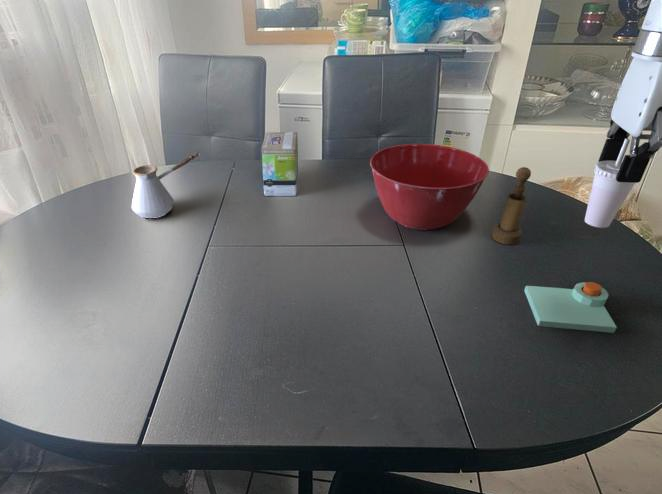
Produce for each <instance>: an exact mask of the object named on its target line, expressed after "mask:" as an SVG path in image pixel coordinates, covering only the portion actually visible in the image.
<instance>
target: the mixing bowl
mask: <svg viewBox="0 0 662 494" xmlns="http://www.w3.org/2000/svg"><path fill="white" fill-rule="evenodd" d="M369 165H370V168H371V171H372V176H373V181H374V185H375V190H376V192H377V195H378V197H379V201H380V203H381V205H382V208H383V209H384V211H385V213H386V214H387V215H388V216H389V217H390V218H391V219H392V220H393V221H395V222H397V223H398V224H400V225H401V226H403V227H404V228H405V227H406V228H408V229H412V230H417V231H432V230H436V229H439V228H443V227H446V226H448V225H450V224H451V223H453V222H455V221H456V220H457V219H458V218H459V217H460V216H461V215H462V214H463V212H465V210H467V208H468V207H469V205H470V204H471V203H472V201H473V199H475V196H476V195H477V193H478V192H479V190H480V188H481V186H482V185H483V182H484V181H485V179H486V178H487V177H488V175H489V173H490V169H489V165H488V164H487V163H486V162H485V160H483V159H482V158H480V157H479V156H477V155H475V154H474V153H471V152H468V151H466V150H463V149H461V148H457V147H452V146H446V145H440V144H432V143H406V144H398V145H391V146H389V147H385V148H382V149H380V150H378V151H376V152H375V153H374V154H373V155H372V156H371V158H370V161H369Z"/></svg>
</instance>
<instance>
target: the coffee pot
mask: <svg viewBox="0 0 662 494" xmlns="http://www.w3.org/2000/svg"><path fill="white" fill-rule="evenodd" d="M198 156H199V158H200V159H203V157H202V156H201V154H200V152H196V153H194V154H190V155H189V157H187V158H185V159H182V160H181V161H180V162H178V163H177V164H175V165H174V166H173V167H171V168H170V169H168V170H166V171H165V172H163V173H161V174H159V175H158V176H157V171H158V167H157V166H155V165H153V164H152V165H150V164H148V165H147V164H146V165H140V166H137V167H135V168H133V169H132V174H133V175H134V176H135V185H134V191H133V196H132V201H131V210H132V211H133V213H134V214H136V215H137V216H139V217H141V218H143V217H146V218H153V217H159V216H162V215H164V214H166V213H168V212H171V210H172V209H173V208H174V204H175V201H174V198H173V196H172V195H171V193H170V192H169V191H168V190H167V188H166V187H165V185H164V184H163V182H162V181H161V179H163V178H164V177H166V176H168V175H169V174H171V173H173V172H174V171H176V170H178V169H180V168H181V167H184V166H185V165H187V164H188V163H190V161H191V160H192V161H193V160H194V159H195V158H197V157H198ZM168 214H169V213H168Z"/></svg>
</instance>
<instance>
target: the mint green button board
mask: <svg viewBox="0 0 662 494" xmlns="http://www.w3.org/2000/svg"><path fill="white" fill-rule="evenodd" d="M586 283H587V282H584V281H583V282H579V283H576V284H575V285H574V287H573V288H564V287H563V288H562V287H552V286H551V287H549V286H537V285H525V287H524V290H523V291H524V294H525V296H526V299H527V301H528V304H529V306H530V309H531V312H532V314H533V318H534V319H535V322H536V324H537V326H538V327H546V328H554V329H555V328H557V329H568V330H579V331H588V332H589V331H590V332H601V333H611V334H614V333H615V332H616V330H617V328H618V326H617V325H616V324H615V322H614V320H613V319H612V317H611V314H609V312H608V310H607V308H606V307H605V305H606V302H607V300H608V299H609V296H610V294H609V292H608V291H607V289H606V288H604V287H602V289H601V292H600V294H599V296H590V295H587V294H585V293H584V292H583V288H584V286H585V284H586Z"/></svg>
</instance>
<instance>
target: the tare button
mask: <svg viewBox="0 0 662 494" xmlns="http://www.w3.org/2000/svg"><path fill="white" fill-rule="evenodd" d="M585 283H586V284H585V286H584V288H583V292H584V293H585V294H587V295H590V296H599V294H600V292H601V289H602V288H603V287H602V285H600V284H598V283H597V282H593V281H587V282H585Z"/></svg>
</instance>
